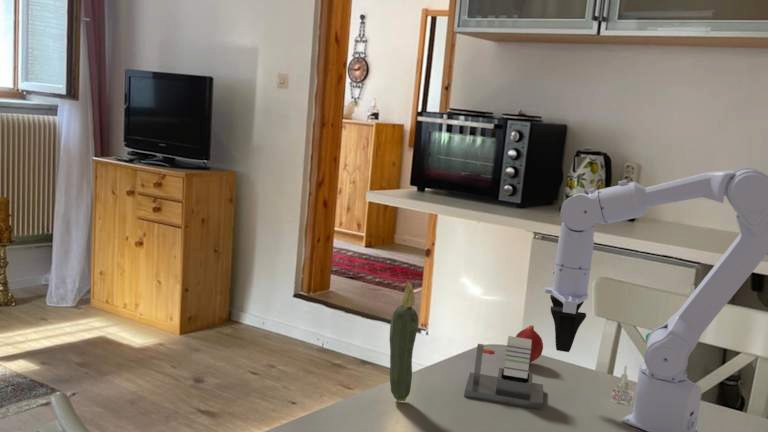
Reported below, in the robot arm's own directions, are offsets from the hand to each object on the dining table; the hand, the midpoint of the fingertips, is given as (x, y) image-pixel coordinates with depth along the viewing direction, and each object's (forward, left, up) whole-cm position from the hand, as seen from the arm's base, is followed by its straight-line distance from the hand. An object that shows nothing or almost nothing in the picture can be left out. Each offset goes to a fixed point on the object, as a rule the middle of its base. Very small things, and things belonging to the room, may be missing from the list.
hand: (562, 343), depth 125 cm
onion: (+14, -12, -11) cm, 21 cm away
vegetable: (+15, +24, -11) cm, 30 cm away
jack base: (+7, +4, -10) cm, 13 cm away
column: (+6, +4, -6) cm, 9 cm away
